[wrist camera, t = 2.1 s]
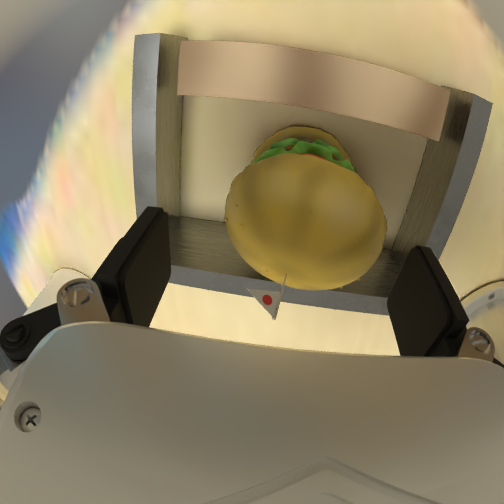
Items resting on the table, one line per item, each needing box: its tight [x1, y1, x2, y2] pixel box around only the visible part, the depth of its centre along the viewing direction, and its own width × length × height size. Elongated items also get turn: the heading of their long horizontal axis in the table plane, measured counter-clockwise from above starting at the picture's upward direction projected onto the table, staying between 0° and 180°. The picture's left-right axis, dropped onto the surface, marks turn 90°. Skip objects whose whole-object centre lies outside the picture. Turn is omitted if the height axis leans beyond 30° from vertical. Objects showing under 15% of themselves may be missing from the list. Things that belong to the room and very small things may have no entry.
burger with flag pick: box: [224, 126, 387, 320], centre depth 16 cm, size 8×7×12 cm
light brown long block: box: [177, 41, 450, 141], centre depth 15 cm, size 14×3×5 cm, turn 84°
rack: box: [132, 33, 493, 316], centre depth 17 cm, size 20×15×6 cm
